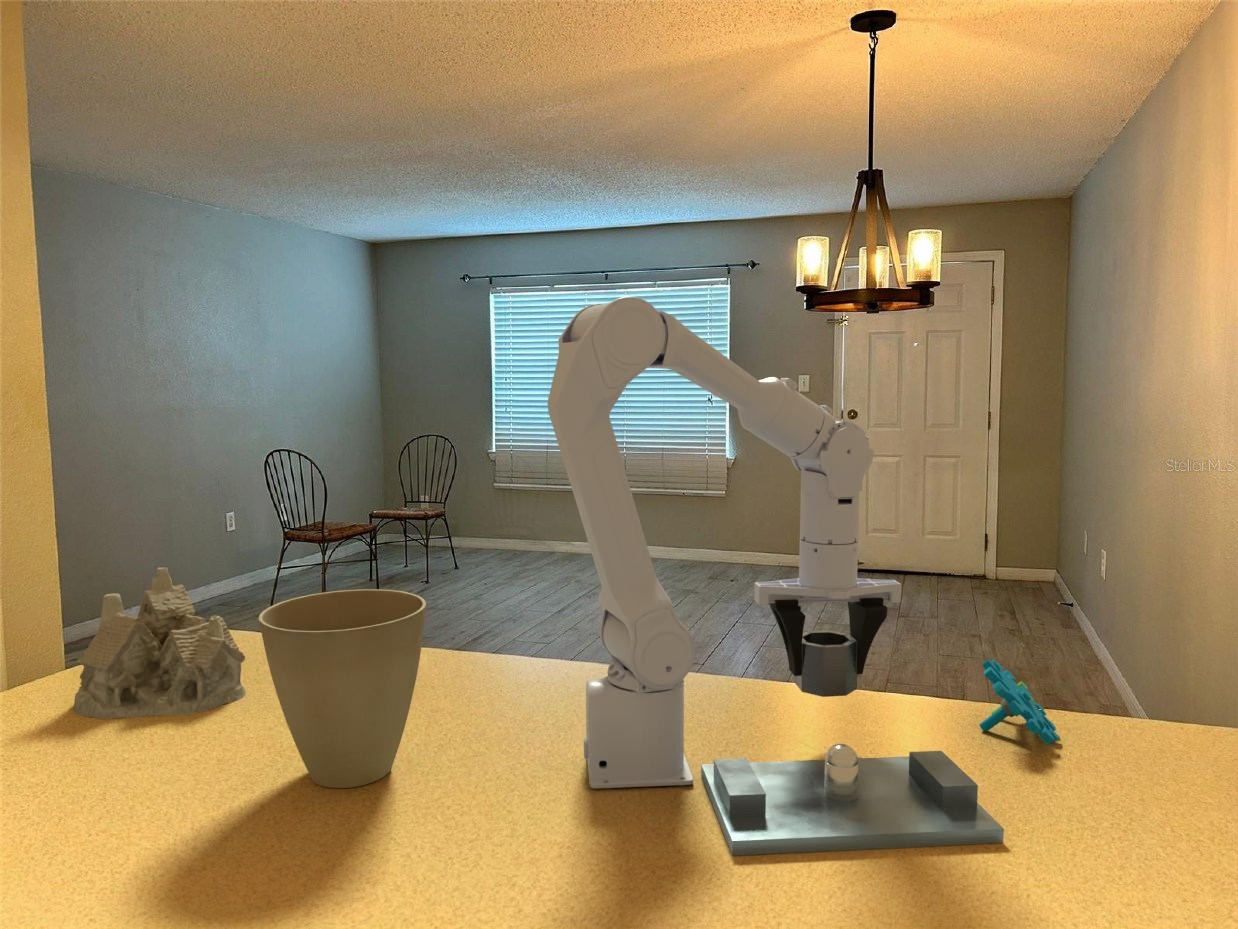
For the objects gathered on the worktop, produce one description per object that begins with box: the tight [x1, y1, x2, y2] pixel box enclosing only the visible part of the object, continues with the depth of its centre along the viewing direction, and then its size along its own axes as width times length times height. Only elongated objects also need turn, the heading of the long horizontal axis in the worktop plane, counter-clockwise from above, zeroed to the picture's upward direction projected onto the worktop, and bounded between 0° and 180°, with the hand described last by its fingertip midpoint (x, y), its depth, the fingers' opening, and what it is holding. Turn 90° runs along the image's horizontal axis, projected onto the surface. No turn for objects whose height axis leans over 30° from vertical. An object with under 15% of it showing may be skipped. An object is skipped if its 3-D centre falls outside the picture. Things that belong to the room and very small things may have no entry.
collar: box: [795, 630, 858, 698], centre depth 92 cm, size 6×6×5 cm
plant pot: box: [258, 588, 427, 789], centre depth 85 cm, size 15×15×16 cm
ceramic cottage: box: [72, 566, 246, 720], centre depth 105 cm, size 16×16×15 cm
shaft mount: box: [700, 743, 1005, 856], centre depth 78 cm, size 22×14×6 cm, turn 95°
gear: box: [978, 659, 1060, 745], centre depth 95 cm, size 11×6×10 cm
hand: (825, 672), depth 92 cm, fingers closed on collar, 6 cm apart
